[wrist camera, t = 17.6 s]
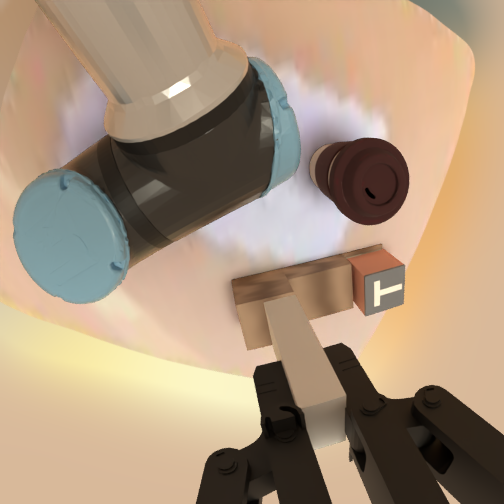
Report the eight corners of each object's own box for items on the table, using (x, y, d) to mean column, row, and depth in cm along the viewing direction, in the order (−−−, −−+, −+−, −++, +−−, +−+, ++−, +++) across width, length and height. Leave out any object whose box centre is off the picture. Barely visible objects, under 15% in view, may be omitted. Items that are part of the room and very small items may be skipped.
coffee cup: (353, 129, 44) (410, 132, 30) (366, 191, 47) (421, 216, 34) (292, 143, 44) (330, 149, 30) (307, 207, 47) (348, 240, 33)
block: (403, 304, 47) (384, 285, 54) (405, 265, 44) (383, 249, 51) (365, 316, 47) (348, 295, 53) (365, 276, 44) (346, 258, 51)
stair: (241, 321, 53) (247, 350, 46) (231, 280, 50) (235, 305, 43) (381, 285, 54) (403, 306, 47) (381, 243, 51) (405, 261, 44)
